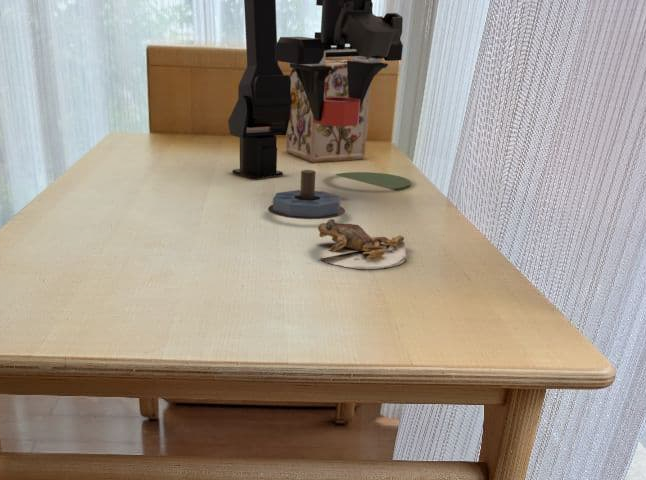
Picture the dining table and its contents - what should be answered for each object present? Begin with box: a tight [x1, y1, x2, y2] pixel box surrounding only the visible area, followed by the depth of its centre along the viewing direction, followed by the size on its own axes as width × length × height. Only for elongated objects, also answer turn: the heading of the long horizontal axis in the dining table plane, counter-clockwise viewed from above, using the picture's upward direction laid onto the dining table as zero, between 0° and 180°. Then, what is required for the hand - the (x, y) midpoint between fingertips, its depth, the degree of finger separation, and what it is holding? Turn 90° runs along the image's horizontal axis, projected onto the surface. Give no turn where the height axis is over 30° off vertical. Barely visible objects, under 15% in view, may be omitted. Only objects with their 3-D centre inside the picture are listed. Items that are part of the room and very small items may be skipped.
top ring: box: [313, 96, 360, 126], centre depth 117 cm, size 6×6×3 cm
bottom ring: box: [272, 189, 342, 218], centre depth 115 cm, size 9×9×2 cm
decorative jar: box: [285, 57, 372, 163], centre depth 151 cm, size 12×12×18 cm
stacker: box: [267, 169, 346, 220], centre depth 114 cm, size 11×11×6 cm
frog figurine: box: [317, 218, 409, 270], centre depth 99 cm, size 12×12×4 cm
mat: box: [333, 171, 411, 192], centre depth 136 cm, size 14×14×1 cm
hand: (335, 119), depth 117 cm, fingers closed on top ring, 6 cm apart
